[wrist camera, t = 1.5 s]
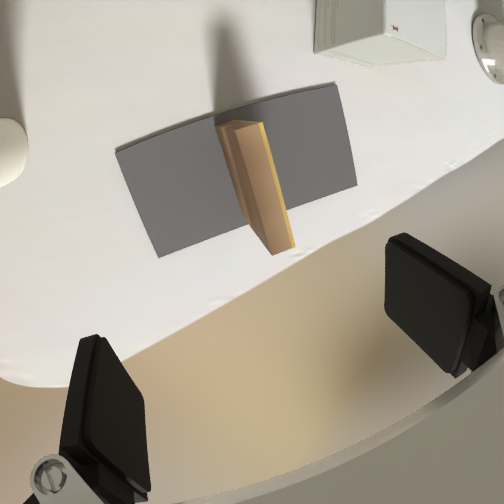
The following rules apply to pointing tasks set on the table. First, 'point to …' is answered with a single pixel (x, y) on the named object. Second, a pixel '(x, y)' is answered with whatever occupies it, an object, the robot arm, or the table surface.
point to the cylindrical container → (12, 150)
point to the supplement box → (381, 31)
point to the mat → (217, 174)
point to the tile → (256, 182)
